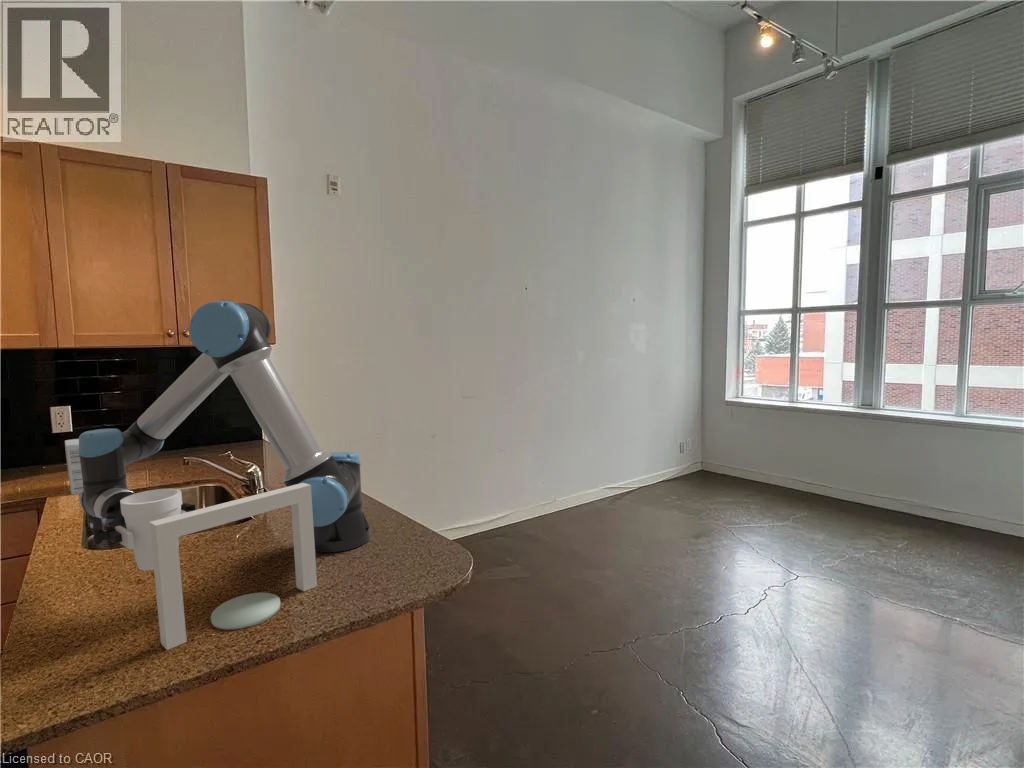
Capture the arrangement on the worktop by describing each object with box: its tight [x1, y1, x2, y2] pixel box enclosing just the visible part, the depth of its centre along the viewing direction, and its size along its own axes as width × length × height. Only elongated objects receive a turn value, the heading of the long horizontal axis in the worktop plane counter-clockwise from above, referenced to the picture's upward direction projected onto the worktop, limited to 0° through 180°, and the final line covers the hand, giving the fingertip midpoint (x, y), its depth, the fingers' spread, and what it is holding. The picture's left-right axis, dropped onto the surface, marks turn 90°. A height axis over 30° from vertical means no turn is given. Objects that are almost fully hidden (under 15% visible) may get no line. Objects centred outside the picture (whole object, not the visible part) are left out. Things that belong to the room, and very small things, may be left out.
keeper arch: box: [150, 483, 318, 651], centre depth 100 cm, size 28×12×22 cm, turn 141°
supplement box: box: [64, 438, 83, 495], centre depth 188 cm, size 13×13×18 cm
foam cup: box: [120, 487, 183, 571], centre depth 98 cm, size 10×9×13 cm
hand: (163, 531), depth 95 cm, fingers closed on foam cup, 9 cm apart
